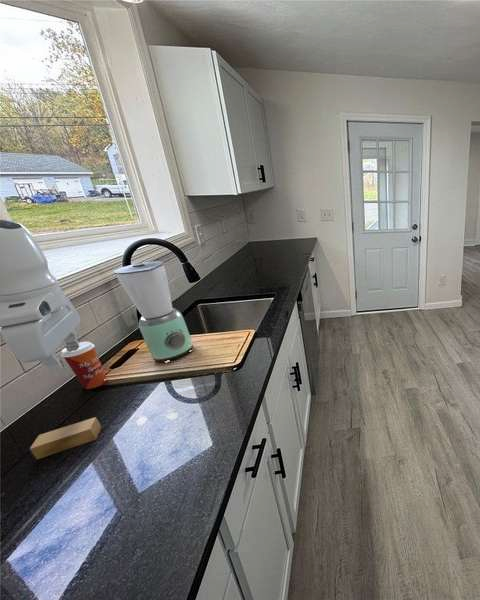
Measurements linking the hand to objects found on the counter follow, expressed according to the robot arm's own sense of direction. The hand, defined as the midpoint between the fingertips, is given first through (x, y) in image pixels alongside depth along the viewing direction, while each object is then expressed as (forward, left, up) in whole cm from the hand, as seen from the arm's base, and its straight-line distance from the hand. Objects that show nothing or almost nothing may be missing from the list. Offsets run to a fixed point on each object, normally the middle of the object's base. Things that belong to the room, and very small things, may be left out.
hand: (66, 359), depth 69 cm
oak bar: (-10, +6, -25) cm, 27 cm away
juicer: (+9, +43, -25) cm, 51 cm away
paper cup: (-12, +36, -25) cm, 45 cm away
